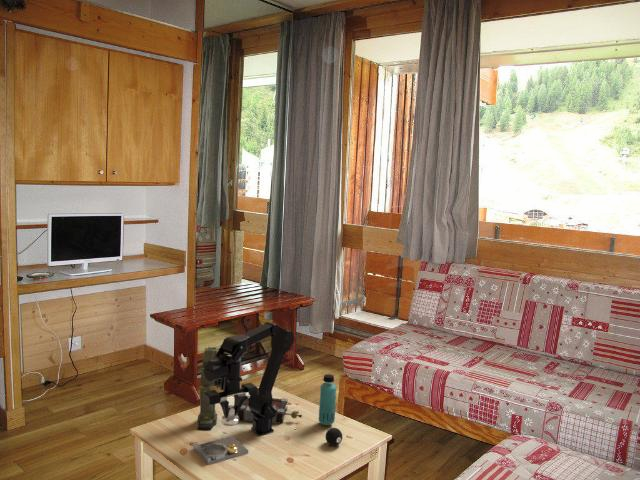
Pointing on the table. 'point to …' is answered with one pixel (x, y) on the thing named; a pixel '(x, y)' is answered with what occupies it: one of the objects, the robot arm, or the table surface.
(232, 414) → the silver metal knob
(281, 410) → the machine vise
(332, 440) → the billiard ball
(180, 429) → the table surface
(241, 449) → the plate
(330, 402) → the beverage bottle
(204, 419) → the mechanical leg
